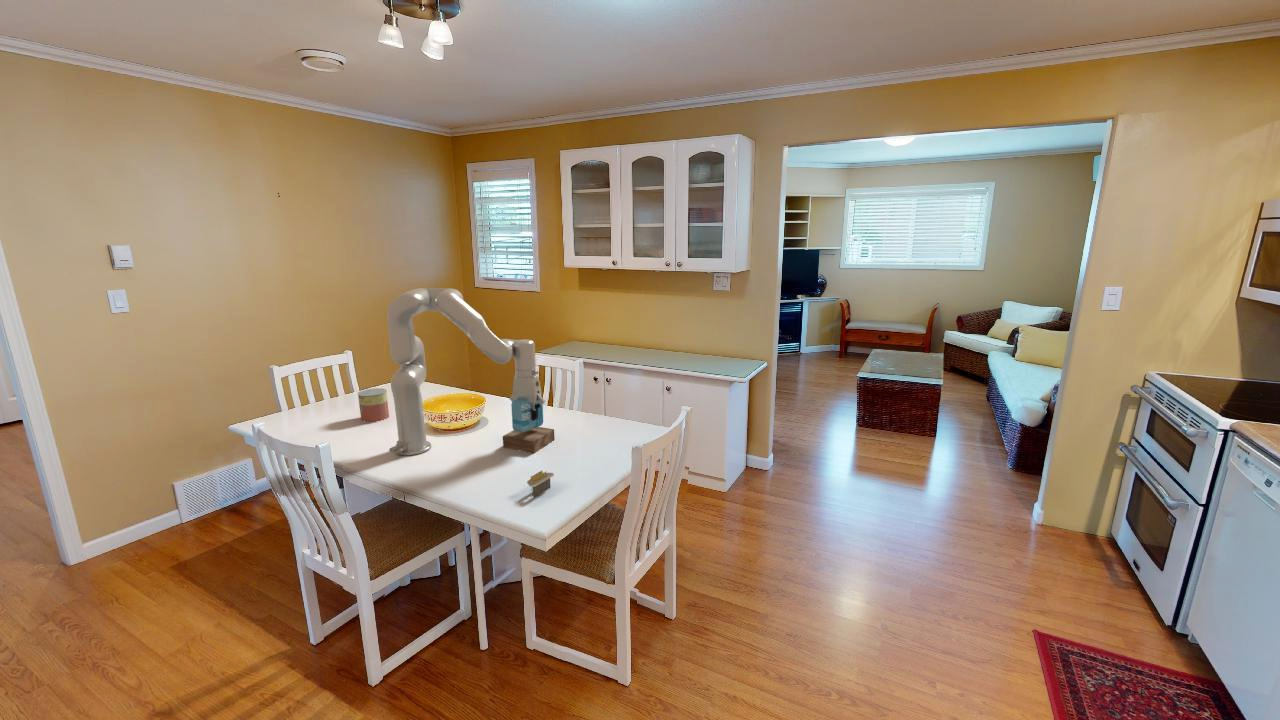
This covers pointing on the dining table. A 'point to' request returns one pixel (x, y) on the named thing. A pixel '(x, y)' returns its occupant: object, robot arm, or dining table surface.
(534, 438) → the walnut base block
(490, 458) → the dining table surface
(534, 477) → the platform
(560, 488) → the dining table surface
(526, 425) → the blue flat box
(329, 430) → the dining table surface
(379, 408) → the canned food
